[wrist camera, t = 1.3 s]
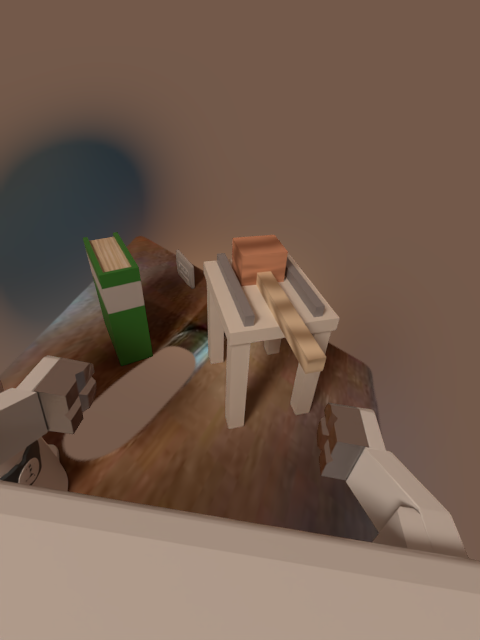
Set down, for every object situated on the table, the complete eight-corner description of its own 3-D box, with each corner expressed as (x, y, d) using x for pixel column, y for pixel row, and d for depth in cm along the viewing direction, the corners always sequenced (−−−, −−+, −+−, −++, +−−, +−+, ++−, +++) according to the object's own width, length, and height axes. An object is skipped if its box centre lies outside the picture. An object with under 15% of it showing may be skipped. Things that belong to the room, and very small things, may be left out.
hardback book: (104, 322, 90) (82, 237, 75) (133, 315, 93) (117, 232, 78) (121, 366, 78) (98, 275, 63) (152, 356, 81) (138, 267, 66)
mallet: (341, 367, 46) (352, 333, 42) (285, 377, 44) (292, 342, 40) (271, 263, 68) (274, 234, 64) (231, 266, 66) (232, 237, 62)
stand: (312, 414, 70) (342, 307, 53) (226, 431, 66) (230, 322, 49) (276, 343, 87) (290, 245, 70) (206, 353, 82) (203, 252, 66)
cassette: (196, 288, 105) (195, 266, 100) (190, 289, 104) (189, 267, 99) (181, 270, 113) (179, 249, 108) (175, 271, 112) (174, 250, 107)
